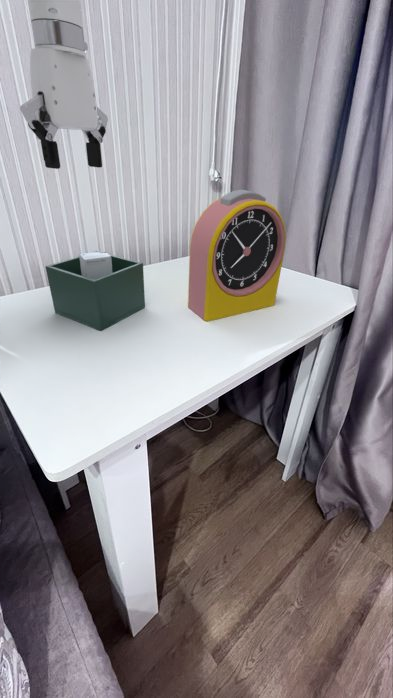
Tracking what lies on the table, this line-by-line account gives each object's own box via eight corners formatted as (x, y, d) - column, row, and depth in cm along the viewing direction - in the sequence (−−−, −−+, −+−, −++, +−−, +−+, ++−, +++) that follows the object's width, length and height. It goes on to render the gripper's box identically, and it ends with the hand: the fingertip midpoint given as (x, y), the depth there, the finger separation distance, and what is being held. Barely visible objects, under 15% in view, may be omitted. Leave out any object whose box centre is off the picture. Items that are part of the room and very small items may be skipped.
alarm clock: (205, 321, 75) (214, 195, 61) (186, 306, 82) (190, 189, 68) (275, 305, 85) (296, 192, 70) (253, 292, 91) (268, 186, 77)
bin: (100, 331, 70) (94, 281, 64) (55, 312, 76) (45, 266, 70) (145, 307, 80) (143, 262, 75) (101, 292, 87) (96, 250, 81)
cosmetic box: (90, 312, 75) (83, 259, 68) (85, 305, 78) (77, 253, 71) (117, 307, 78) (112, 256, 71) (110, 300, 81) (105, 250, 74)
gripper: (85, 57, 60) (96, 165, 69) (-9, 29, 47) (19, 166, 56) (116, 54, 57) (123, 168, 66) (24, 24, 44) (48, 170, 53)
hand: (75, 167), depth 61 cm, fingers open, 9 cm apart
